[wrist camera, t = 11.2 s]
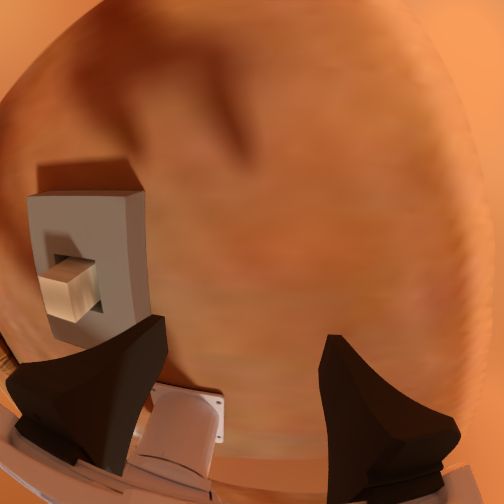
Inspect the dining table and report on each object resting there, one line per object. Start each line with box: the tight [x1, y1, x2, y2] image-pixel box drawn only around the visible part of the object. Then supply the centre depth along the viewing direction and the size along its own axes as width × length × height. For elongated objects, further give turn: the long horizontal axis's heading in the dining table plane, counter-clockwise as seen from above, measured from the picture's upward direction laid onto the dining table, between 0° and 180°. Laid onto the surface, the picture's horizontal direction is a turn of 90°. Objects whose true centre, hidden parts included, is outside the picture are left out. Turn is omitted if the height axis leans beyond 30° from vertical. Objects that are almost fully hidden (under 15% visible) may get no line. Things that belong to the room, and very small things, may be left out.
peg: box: [38, 256, 101, 323], centre depth 19 cm, size 3×3×6 cm
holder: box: [27, 190, 151, 349], centre depth 20 cm, size 14×11×3 cm
